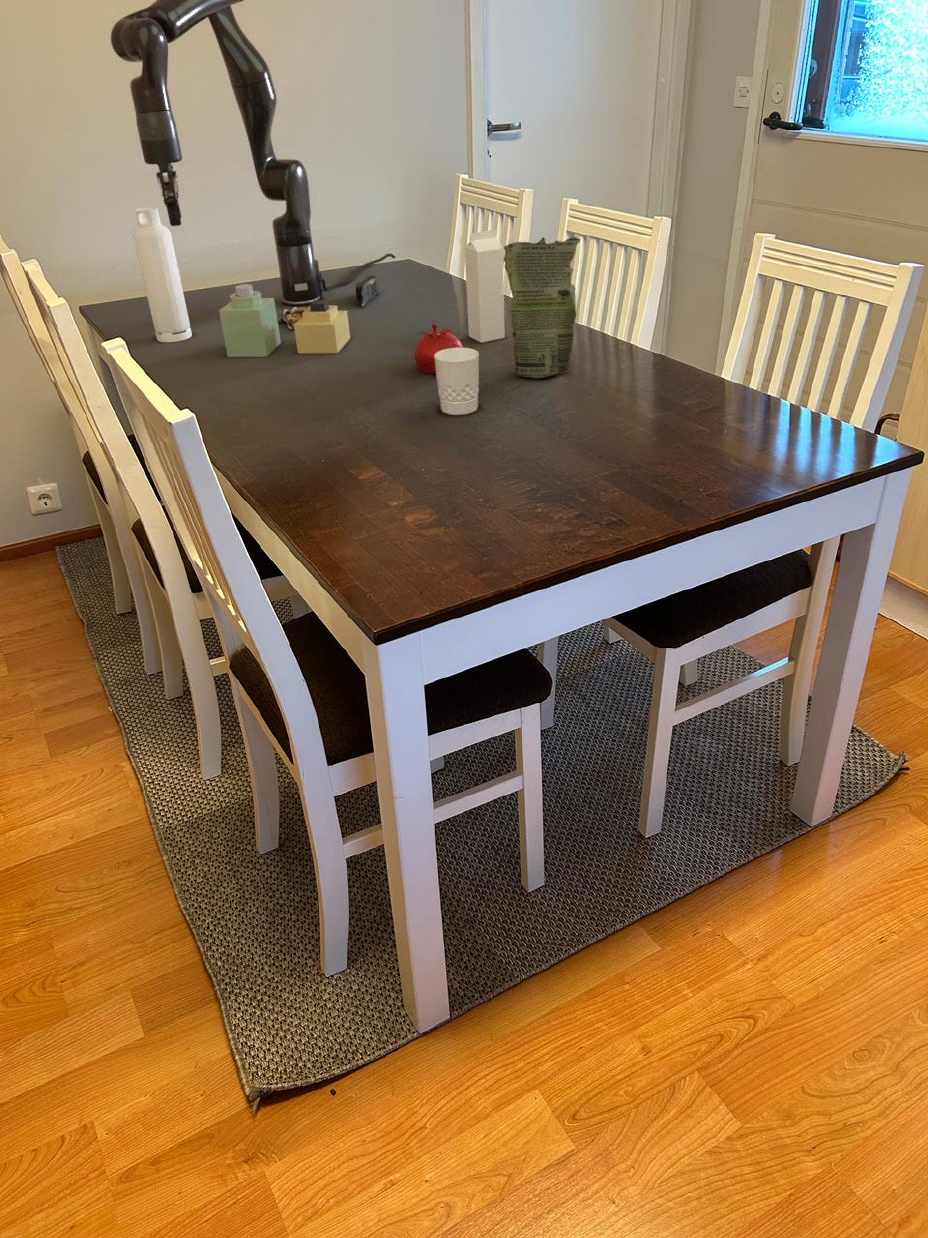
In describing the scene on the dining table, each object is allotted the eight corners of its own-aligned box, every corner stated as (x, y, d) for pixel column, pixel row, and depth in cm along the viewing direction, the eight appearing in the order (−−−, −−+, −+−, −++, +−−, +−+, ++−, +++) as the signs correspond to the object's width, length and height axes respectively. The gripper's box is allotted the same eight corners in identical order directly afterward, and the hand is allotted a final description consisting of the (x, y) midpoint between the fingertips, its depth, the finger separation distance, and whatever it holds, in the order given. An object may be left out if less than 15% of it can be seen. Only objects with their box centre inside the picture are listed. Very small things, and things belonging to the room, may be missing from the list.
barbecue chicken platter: (294, 332, 217) (292, 316, 215) (277, 321, 226) (275, 306, 224) (322, 327, 220) (320, 311, 218) (304, 316, 229) (302, 301, 227)
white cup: (449, 419, 165) (446, 364, 160) (430, 406, 171) (426, 352, 165) (488, 410, 168) (486, 355, 162) (468, 398, 174) (465, 344, 168)
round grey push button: (240, 294, 202) (238, 284, 201) (256, 294, 202) (254, 283, 201) (234, 298, 199) (232, 288, 198) (250, 298, 199) (248, 287, 198)
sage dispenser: (243, 343, 212) (233, 288, 205) (281, 343, 210) (272, 288, 204) (227, 356, 204) (216, 300, 197) (266, 356, 202) (257, 300, 196)
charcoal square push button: (314, 309, 204) (313, 299, 203) (329, 308, 204) (327, 299, 203) (310, 313, 202) (309, 303, 201) (325, 312, 201) (323, 303, 200)
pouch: (501, 374, 184) (497, 240, 171) (539, 358, 192) (538, 229, 178) (545, 384, 178) (545, 246, 164) (583, 368, 185) (585, 234, 171)
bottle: (196, 331, 222) (170, 204, 207) (185, 341, 215) (157, 211, 200) (164, 332, 223) (136, 206, 208) (151, 342, 216) (121, 212, 201)
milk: (468, 336, 207) (462, 231, 196) (492, 331, 210) (488, 227, 198) (481, 343, 203) (476, 235, 191) (505, 338, 205) (502, 231, 193)
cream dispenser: (312, 338, 212) (307, 302, 208) (350, 338, 211) (346, 302, 206) (297, 353, 203) (292, 316, 199) (337, 353, 202) (333, 315, 197)
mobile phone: (365, 274, 243) (351, 286, 230) (376, 273, 242) (363, 286, 230) (367, 293, 245) (354, 307, 233) (378, 293, 245) (365, 307, 232)
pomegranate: (473, 367, 189) (471, 320, 184) (439, 380, 183) (436, 333, 178) (439, 358, 195) (436, 313, 190) (404, 371, 189) (400, 325, 184)
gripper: (177, 137, 183) (194, 226, 191) (177, 131, 194) (194, 214, 203) (138, 141, 181) (157, 229, 190) (140, 134, 193) (158, 218, 202)
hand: (176, 222), depth 196 cm, fingers open, 8 cm apart
